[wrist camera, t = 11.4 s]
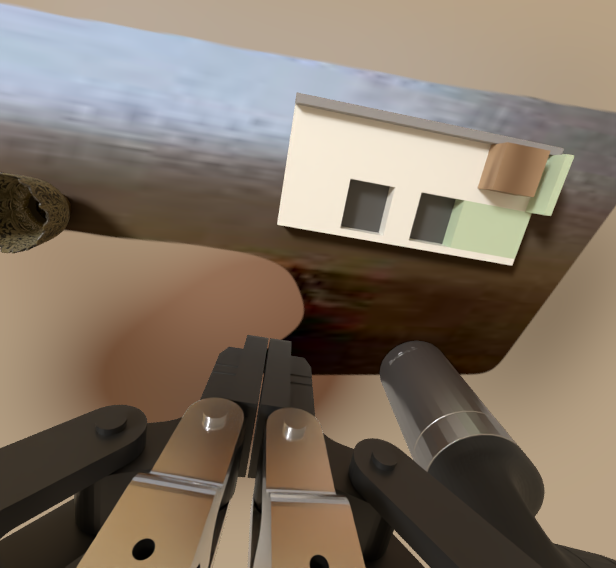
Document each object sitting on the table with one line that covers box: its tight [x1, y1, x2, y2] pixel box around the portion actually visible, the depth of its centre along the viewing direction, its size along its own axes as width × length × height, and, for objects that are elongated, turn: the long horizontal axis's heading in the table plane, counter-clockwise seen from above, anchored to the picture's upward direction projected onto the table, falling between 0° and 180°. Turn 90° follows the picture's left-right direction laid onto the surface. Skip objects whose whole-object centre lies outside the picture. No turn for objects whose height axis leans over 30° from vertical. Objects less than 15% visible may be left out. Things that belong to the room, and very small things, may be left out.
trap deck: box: [277, 93, 574, 265], centre depth 37 cm, size 28×13×6 cm, turn 80°
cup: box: [0, 172, 72, 253], centre depth 35 cm, size 8×7×8 cm
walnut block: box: [478, 142, 550, 197], centre depth 35 cm, size 4×4×3 cm
